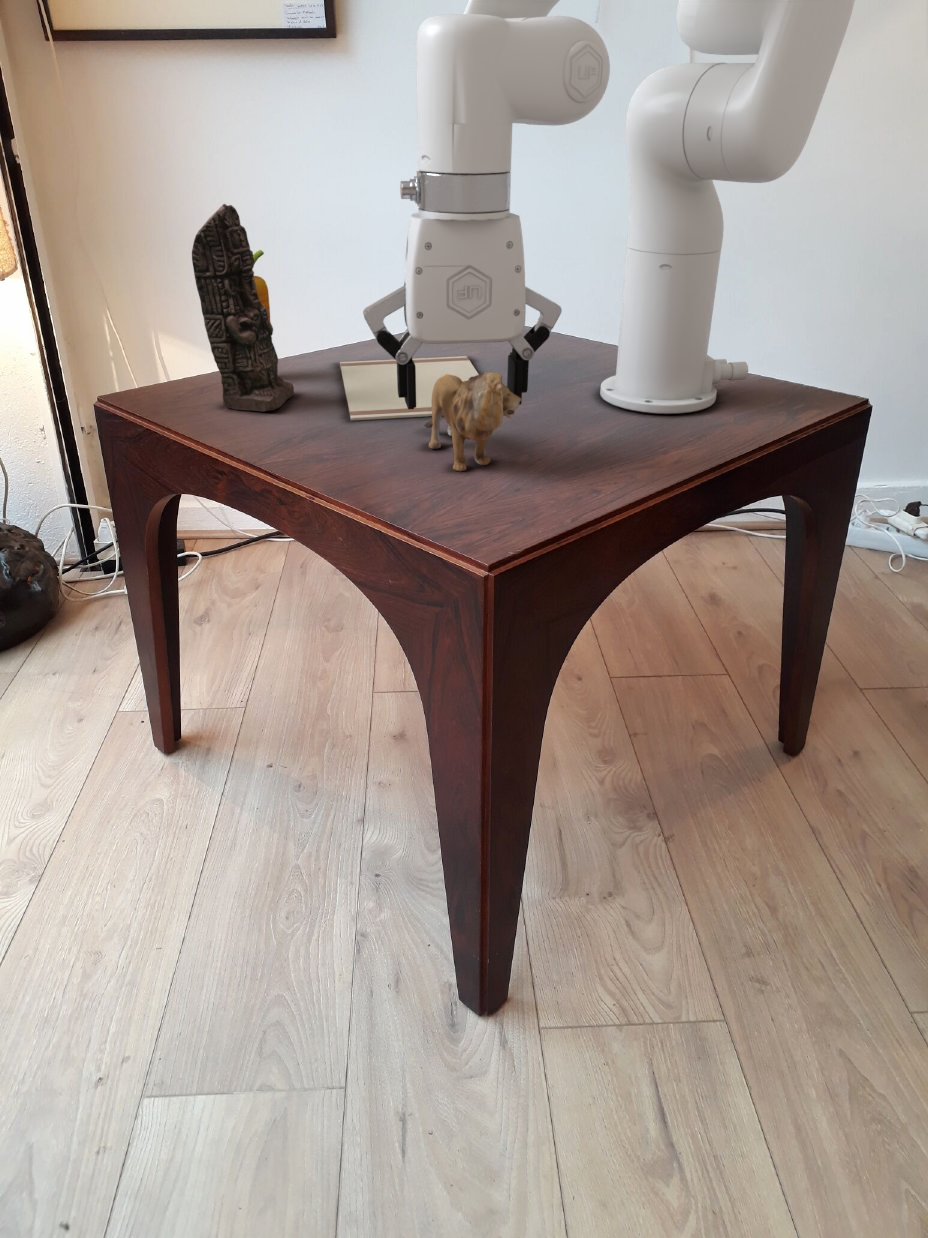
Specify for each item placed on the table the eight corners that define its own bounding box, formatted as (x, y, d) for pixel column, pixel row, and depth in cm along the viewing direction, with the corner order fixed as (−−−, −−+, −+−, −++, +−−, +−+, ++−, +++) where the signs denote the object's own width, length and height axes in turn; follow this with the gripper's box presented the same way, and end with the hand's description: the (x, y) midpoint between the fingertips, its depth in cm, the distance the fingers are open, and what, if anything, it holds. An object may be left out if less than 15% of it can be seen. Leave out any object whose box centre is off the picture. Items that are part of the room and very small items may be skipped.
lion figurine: (525, 474, 81) (529, 374, 77) (473, 485, 79) (474, 382, 75) (447, 427, 92) (446, 337, 88) (400, 435, 90) (396, 343, 86)
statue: (273, 414, 96) (250, 207, 86) (211, 410, 97) (180, 206, 87) (296, 395, 102) (277, 199, 92) (237, 391, 103) (211, 198, 93)
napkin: (466, 358, 115) (466, 355, 115) (501, 412, 97) (502, 409, 96) (340, 364, 113) (339, 361, 113) (351, 420, 94) (350, 417, 94)
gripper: (361, 201, 70) (370, 419, 78) (579, 200, 72) (565, 411, 81) (354, 192, 76) (364, 394, 85) (555, 191, 79) (544, 387, 87)
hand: (462, 402), depth 83 cm, fingers open, 9 cm apart
